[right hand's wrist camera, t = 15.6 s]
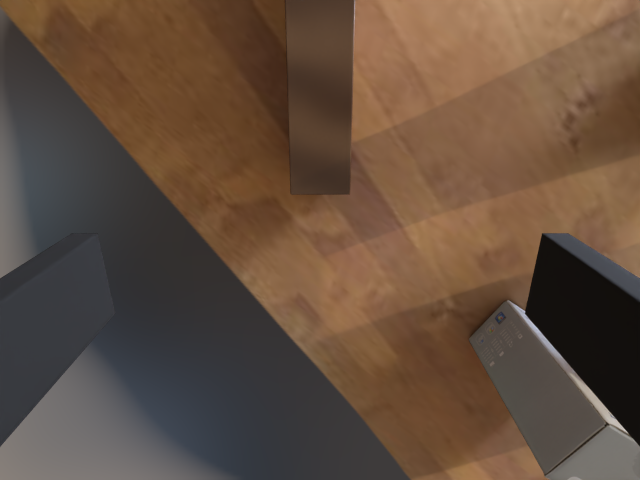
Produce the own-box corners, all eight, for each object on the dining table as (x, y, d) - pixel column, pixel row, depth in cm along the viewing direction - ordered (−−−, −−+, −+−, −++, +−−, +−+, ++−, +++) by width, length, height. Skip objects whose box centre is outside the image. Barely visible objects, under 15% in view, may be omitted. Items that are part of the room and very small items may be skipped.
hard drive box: (465, 339, 54) (541, 476, 35) (505, 297, 52) (609, 420, 33) (549, 390, 57) (659, 541, 39) (590, 353, 55) (729, 494, 36)
